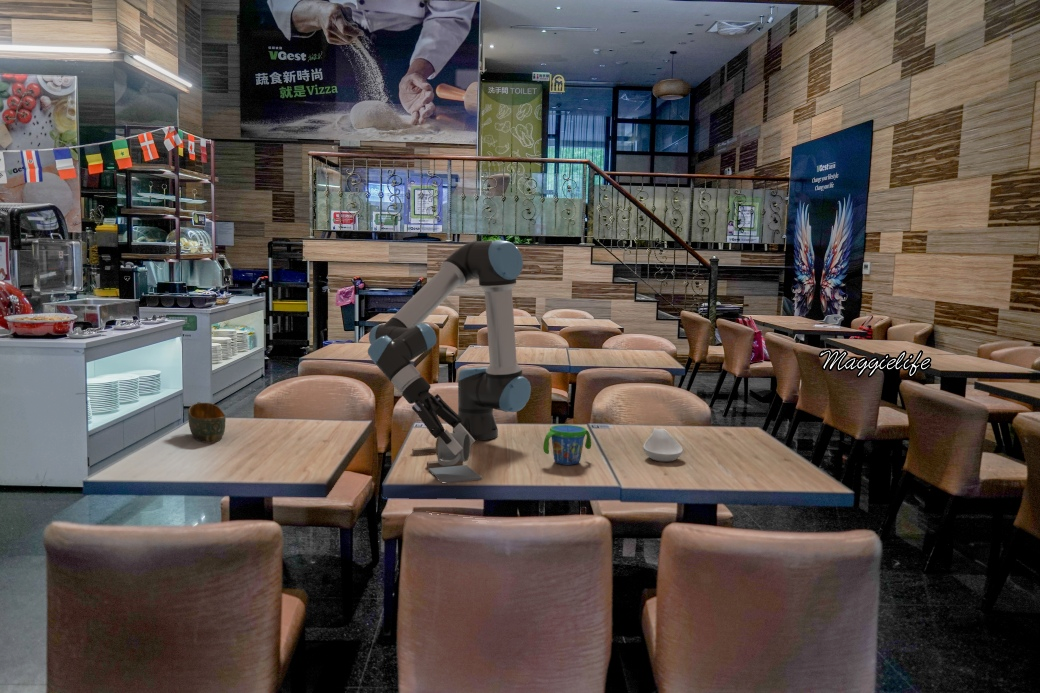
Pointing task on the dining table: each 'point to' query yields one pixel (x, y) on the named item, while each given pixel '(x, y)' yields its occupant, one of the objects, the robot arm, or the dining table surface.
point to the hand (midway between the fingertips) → (465, 447)
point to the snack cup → (567, 443)
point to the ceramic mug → (447, 454)
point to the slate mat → (455, 473)
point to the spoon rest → (662, 446)
